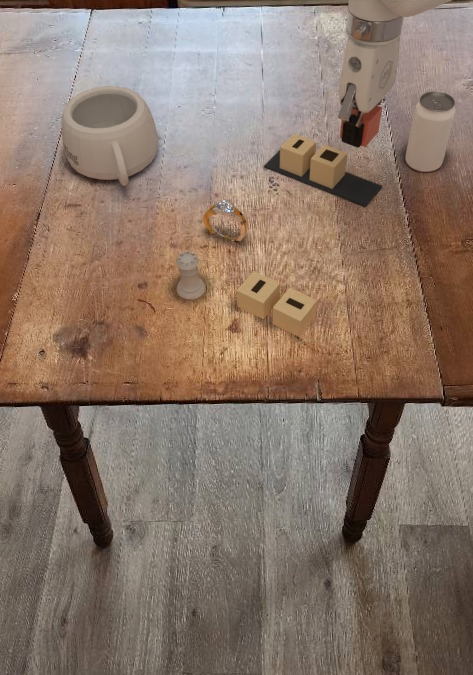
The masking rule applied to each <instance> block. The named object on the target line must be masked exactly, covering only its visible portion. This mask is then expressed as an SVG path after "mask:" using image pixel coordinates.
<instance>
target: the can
mask: <svg viewBox="0 0 473 675" xmlns="http://www.w3.org/2000/svg"><path fill="white" fill-rule="evenodd" d="M455 105H456V101H455V99H454V97H453V96H451V94H448V93H447V92H443V91H437V90H435V91H434V90H432V91H427V92H424V93H423V94H421V96H420V97H419V100H418V102H417V103H416V104H415V107H414V112H413V116H412V122H411V127H410V132H409V136H408V142H407V147H406V151H405V157H404V158H405V160H404V161H405V163H406V165H408V167H410V169H411V170H414V171H417V172H419V173H433V172H435V171H436V170H438V169H439V168H441V167H442V165H443V163H444V160H445V155H446V152H447V148H448V144H449V141H450V136H451V132H452V128H453V124H454V120H455V117H456V107H455Z"/></svg>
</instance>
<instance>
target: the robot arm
mask: <svg viewBox="0 0 473 675" xmlns="http://www.w3.org/2000/svg"><path fill="white" fill-rule="evenodd" d="M452 1H453V0H348V5H347V16H346V24H345V26H346V27H345V34H346V36H347V37H348V38H347V41H346V46H345V50H344V56H343V61H342V67H341V74H340V80H339V88H338V89H339V90H338V101H339V104H340V105H341V106H340V109H339V112H338V115H337V119H338V120H341V121H343V131H342V139H341V142H342V143H344V144H347V145H349V146H351V147H355V148H357V149H358V148H360V147H362V146H361V144H362V137H363V130H364V124H362V121H363V117H364V113H367V112H369V111H371V110H372V109H373V108H374V107H375V106H376V105H377V106H381V104H382V102H383V98H385V96H386V95H387V94H388V93H389V92H390V91H391V90H392V88H393V87H394V85H395V84H396V81H397V80H396V79H397V73H398V72H397V71H398V63H399V57H400V47H401V35H402V30H403V23H404V18H409V17H414V16H417V15H420V14H422V13H425V12H428V11H430V10H432V9H435V8H437V7H439V6H441V5H444V4H447V3H449V2H452ZM355 100H356V102H355ZM352 108H353V109H356V110H359V111H358V116H356V115H354V114H351V110H352Z"/></svg>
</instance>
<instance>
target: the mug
mask: <svg viewBox="0 0 473 675" xmlns="http://www.w3.org/2000/svg"><path fill="white" fill-rule="evenodd" d="M61 141H62V147H63V152H64V154H65V157H66V158H67V161H68V162H69V164H70V166H71V168H73V170H75V171H76V172H77V173H79V174H81V175H82V176H84V177H88V178H91V179H95V180H101V181H113V180H118V181H119V183H120V184H121V186H124V187H126V186H127V185H129V181H130V180H129V177H131V176H133V175H136V174H137V173H139V172H141V171H142V170H144V169H145V168H146V167H147V166H149V165H150V164H151V163H152V162H153V160H154V159H155V157H156V155H157V152H158V147H159V137H158V131H157V127H156V123H155V120H154V117H153V114H152V112H151V110H150V107H149V105H148V104H147V102H146V101H145V99H144V98H143V97H142V96H141V95H140V94H139V93H138V92H136V91H135V90H132V89H130V88H128V87H124V86H116V85H105V86H97V87H94V88H90V89H86V90H84V91H82V92H80V93H77V94H76V95H74V96H73V97H71V98H70V100H69V101H68V102H67V103H66V105H65V106H64V109H63V112H62V114H61Z"/></svg>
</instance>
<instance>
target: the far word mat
mask: <svg viewBox="0 0 473 675" xmlns="http://www.w3.org/2000/svg"><path fill="white" fill-rule="evenodd" d="M316 148H317V141H316V140H313V139H310V138H308V137H304V136H302V135H299V134H297V133H293V134H292V135H291V136H289V138H288V139H286V140H285V141H284V143H283V144H282V145H281V146H280V147H279V150H278V151H277V152H276V153H275V154H274V155H273V156H272V157H270V159H269V160H268V161H267V162H266V163H265V164H264V165H263V168H265V169H267V170H270V171H272V172H274V173H277V174H280V175H282V176H285V177H287V178H290V179H293V180H295V181H297V182H299V183H302V184H304V185H305V184H306V185H308V186H311V187H313V188H315V189H318V190H321V191H323V192H326V193H329V194H331V195H333V196H336V197H338V198H340V199H343V200H345V201H347V202H350V203H352V204H353V203H354V204H356V205H358V206H361V207H363V208H367V206H369V205H370V203H371V202H372V201H373V199H375V197H376V196H377V194H378V193H379V192H380V191H381V189H383V185H381V184H380V183H376V182H374V181H371V180H370V179H369V180H368V179H366V178H364V177H360V176H358V175H355V174H353V173H350V172H347V170H346V168H347V160H348V152H345V151H343V150H340V149H337V148H335V147H332V146H329V145H327V144H323V145H322V146H321V147H320V148H319V149H318V150H317V151H316Z"/></svg>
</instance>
